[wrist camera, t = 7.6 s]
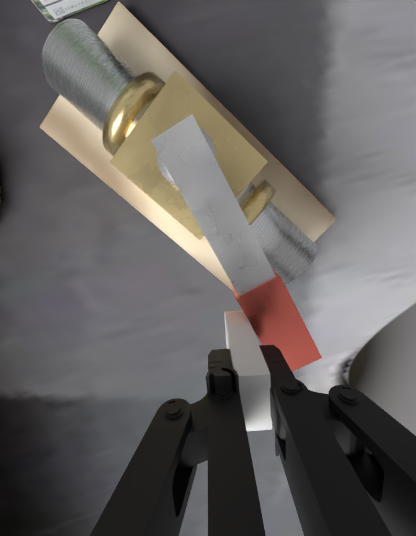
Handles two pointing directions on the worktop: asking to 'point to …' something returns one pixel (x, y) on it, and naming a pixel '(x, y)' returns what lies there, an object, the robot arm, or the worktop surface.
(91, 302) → the worktop surface
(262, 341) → the lever
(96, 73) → the valve
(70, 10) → the syrup box
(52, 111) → the mounting board
